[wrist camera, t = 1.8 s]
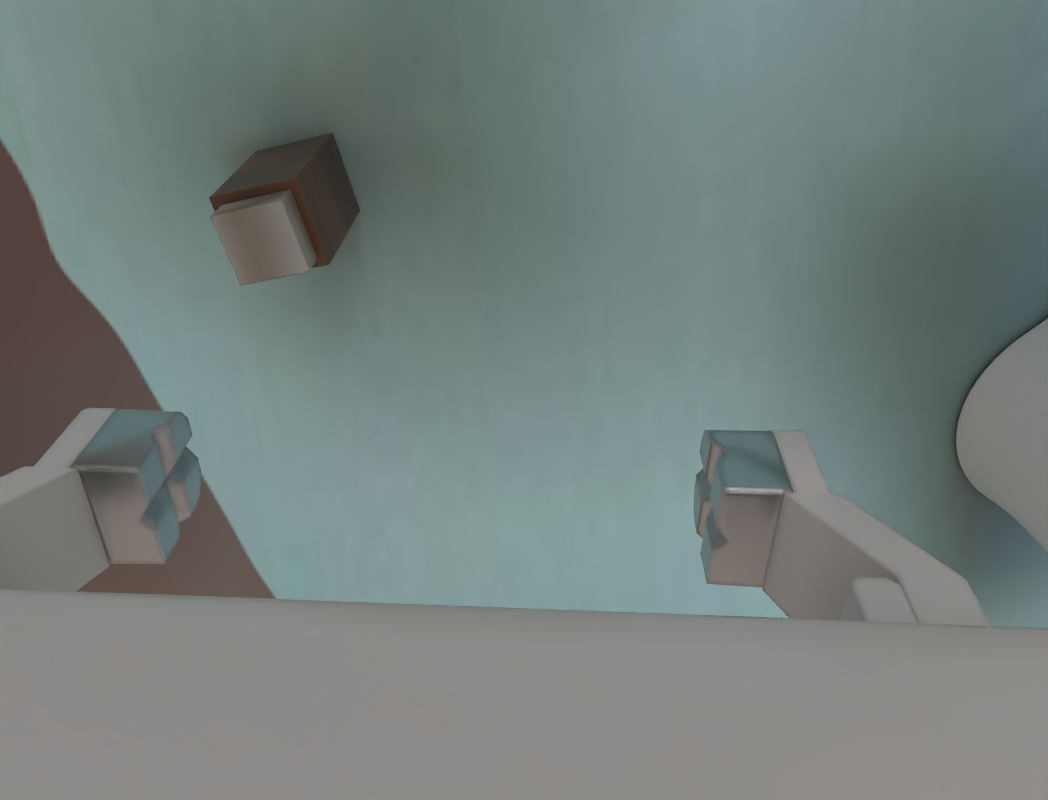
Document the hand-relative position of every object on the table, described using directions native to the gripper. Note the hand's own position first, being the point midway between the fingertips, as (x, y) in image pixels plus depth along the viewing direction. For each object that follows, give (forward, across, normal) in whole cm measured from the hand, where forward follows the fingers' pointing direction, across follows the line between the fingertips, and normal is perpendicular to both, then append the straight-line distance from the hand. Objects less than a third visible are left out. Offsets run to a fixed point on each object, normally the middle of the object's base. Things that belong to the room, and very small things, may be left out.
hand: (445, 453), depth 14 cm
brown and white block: (+30, +10, +6) cm, 33 cm away
